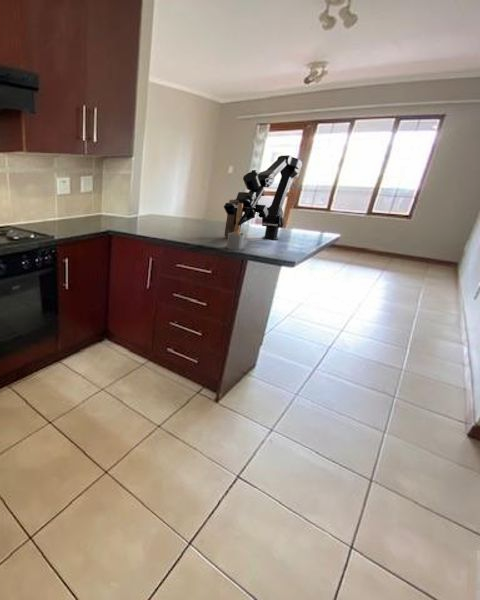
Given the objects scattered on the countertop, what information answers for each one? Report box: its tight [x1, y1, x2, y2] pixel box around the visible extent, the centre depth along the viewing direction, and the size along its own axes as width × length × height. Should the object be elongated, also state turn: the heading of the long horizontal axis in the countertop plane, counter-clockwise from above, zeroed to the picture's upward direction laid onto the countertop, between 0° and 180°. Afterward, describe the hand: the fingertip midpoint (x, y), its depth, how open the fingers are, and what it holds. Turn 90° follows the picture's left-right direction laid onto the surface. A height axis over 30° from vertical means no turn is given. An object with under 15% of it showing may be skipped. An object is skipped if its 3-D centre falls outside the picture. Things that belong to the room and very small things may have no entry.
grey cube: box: [226, 232, 246, 251], centre depth 154 cm, size 7×7×7 cm
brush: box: [232, 203, 243, 235], centre depth 151 cm, size 3×3×18 cm
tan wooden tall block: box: [223, 198, 244, 239], centre depth 172 cm, size 8×7×20 cm
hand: (236, 224), depth 150 cm, fingers closed on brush, 2 cm apart
